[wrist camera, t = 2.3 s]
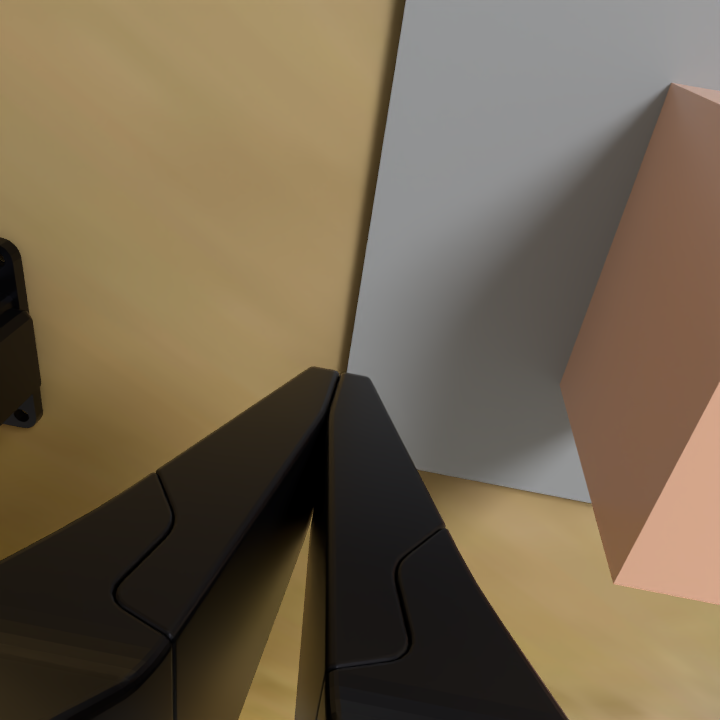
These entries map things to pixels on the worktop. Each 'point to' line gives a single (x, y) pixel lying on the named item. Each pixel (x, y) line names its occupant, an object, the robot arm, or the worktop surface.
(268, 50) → the worktop surface
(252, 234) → the worktop surface
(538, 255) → the mat
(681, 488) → the tile
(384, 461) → the robot arm
